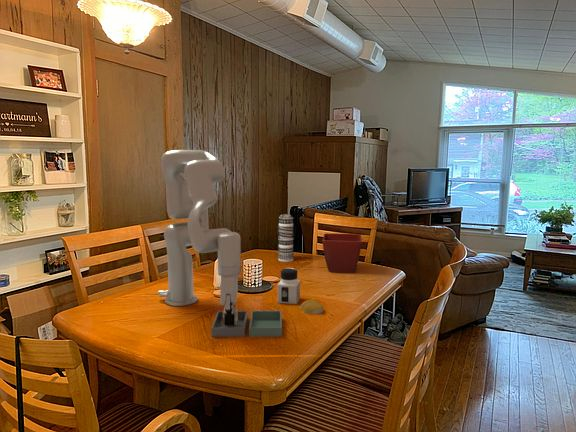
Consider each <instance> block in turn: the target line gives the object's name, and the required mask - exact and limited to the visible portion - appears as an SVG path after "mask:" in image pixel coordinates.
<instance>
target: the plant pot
mask: <svg viewBox="0 0 576 432" xmlns="http://www.w3.org/2000/svg"><path fill="white" fill-rule="evenodd" d="M321 242H322V249H323V254H324V259H325V263H326V268H327V271H328V272H329V273H348V274H349V273H351V274H355V272H356V269H357V266H358V263H359V259H360V255H361V251H362V250H361V249H362V246H363V245H362V243H363V240H362V234H359V233H358V234H357V233H327V232H326V233H324V234H323V237H322V241H321Z"/></svg>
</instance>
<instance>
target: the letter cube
mask: <svg viewBox="0 0 576 432" xmlns="http://www.w3.org/2000/svg"><path fill="white" fill-rule="evenodd" d="M230 308H231V309H232V307H230ZM222 311H223V325H225V316H224V314H225V306H224V307H223V310H222ZM238 311H239V309H238V306H235V307H234V311H233V313H234V322H235V324H234V325H237V321H238Z"/></svg>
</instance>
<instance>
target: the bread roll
mask: <svg viewBox="0 0 576 432" xmlns="http://www.w3.org/2000/svg"><path fill="white" fill-rule="evenodd" d="M299 307H300V310H301V311H302V313H304V314H310V315H317V314H318V315H319V314H323V312H324V306H323V305H322V304H320V303H319V302H318V301H317V300H314V299H307V300H305V301H303V302H302V303H301V304H300V306H299Z"/></svg>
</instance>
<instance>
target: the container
mask: <svg viewBox="0 0 576 432" xmlns="http://www.w3.org/2000/svg"><path fill="white" fill-rule="evenodd" d="M300 298H301V280H300V279H298V270H297V269H296V268H292V267H286V268H283V269H281V270H280V281H279V282H278V283H277V303H278V304H289V305H297V304H298V302H299V300H300Z"/></svg>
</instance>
